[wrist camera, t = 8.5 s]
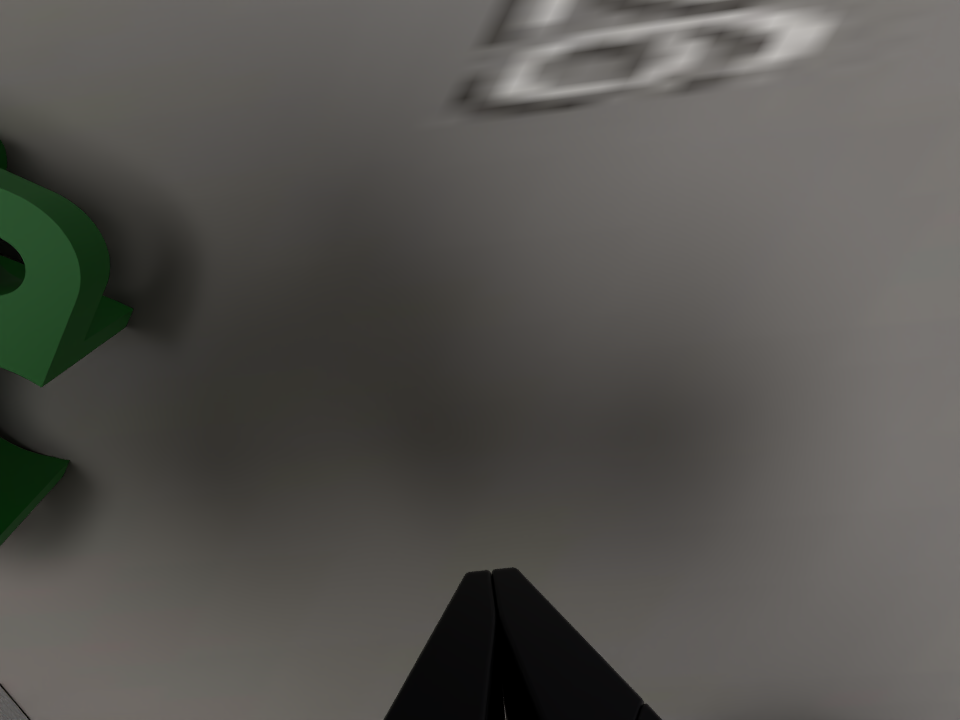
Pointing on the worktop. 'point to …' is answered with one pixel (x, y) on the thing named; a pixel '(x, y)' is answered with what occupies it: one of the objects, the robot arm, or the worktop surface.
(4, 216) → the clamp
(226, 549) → the worktop surface
